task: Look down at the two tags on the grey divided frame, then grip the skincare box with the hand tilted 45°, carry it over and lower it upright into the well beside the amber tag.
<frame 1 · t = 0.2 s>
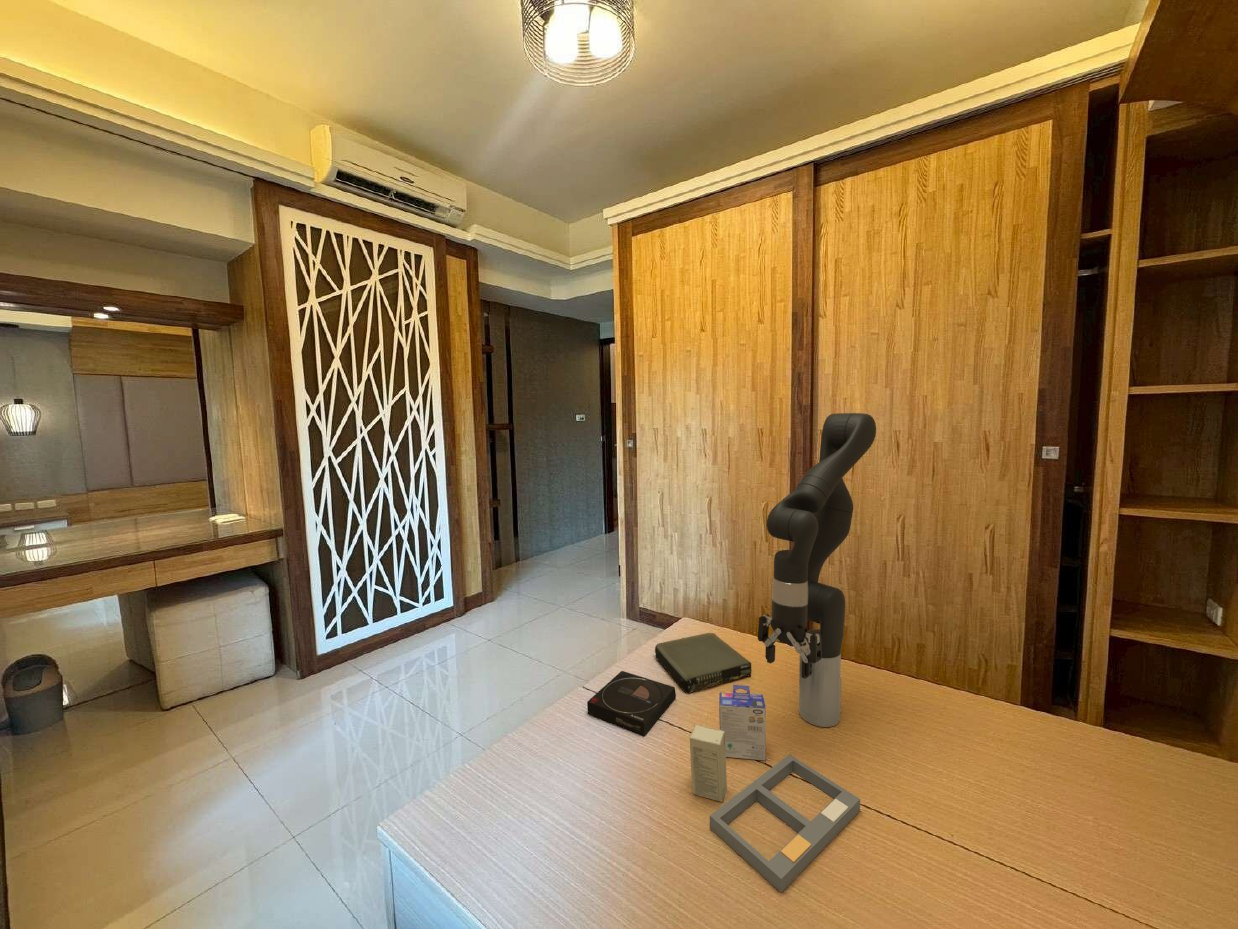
hand: (787, 669, 106), 18 cm above the table, tool pointing down, fingers open, 8 cm apart
skincare box: (709, 791, 95), on the table
portable cd player: (633, 708, 123), on the table
ink cartridge box: (742, 751, 106), on the table
network switch: (700, 669, 140), on the table
grey divided frame: (785, 819, 88), on the table
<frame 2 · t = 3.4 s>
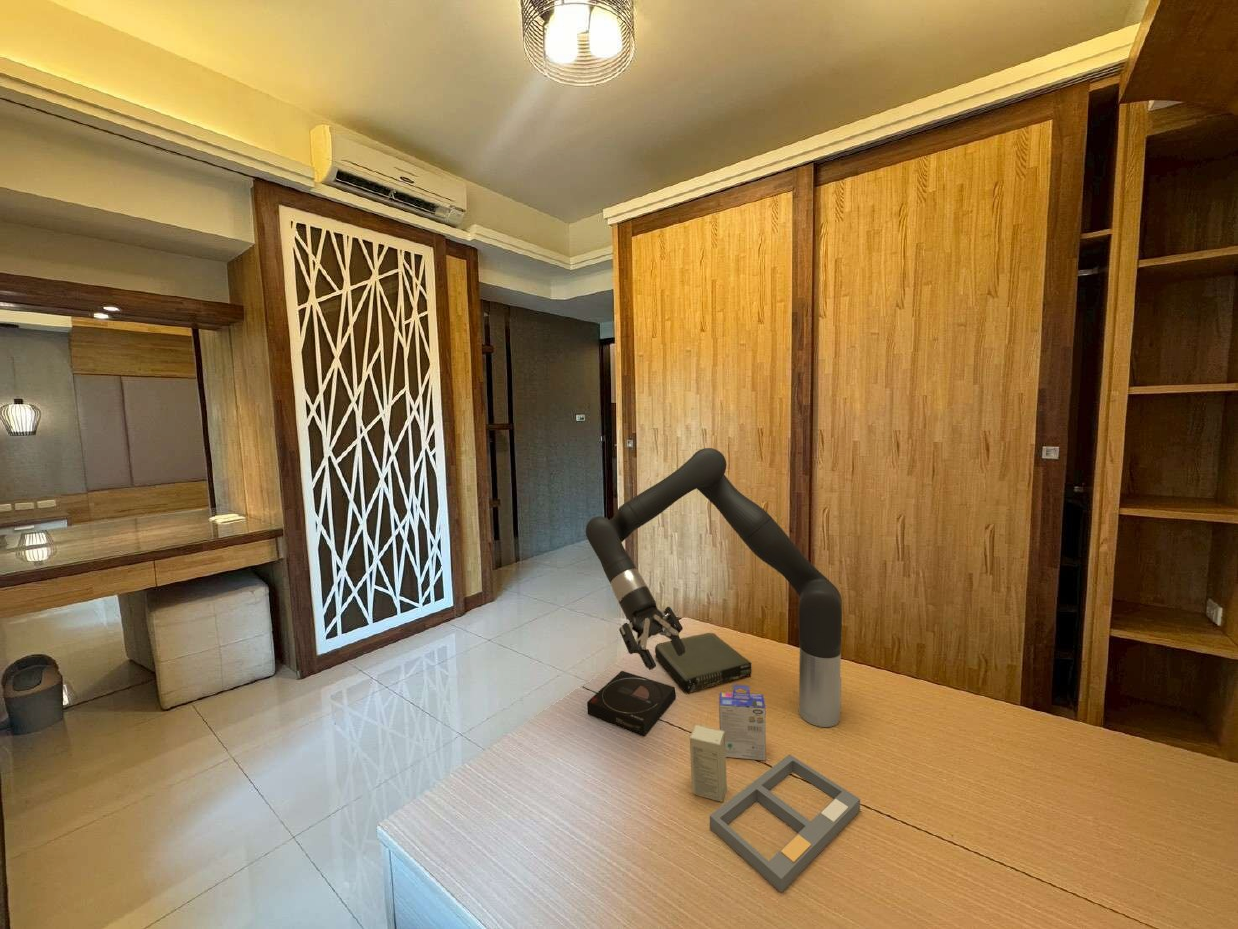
hand: (667, 661, 101), 23 cm above the table, tool tilted 45°, fingers open, 8 cm apart
nothing on the table moved.
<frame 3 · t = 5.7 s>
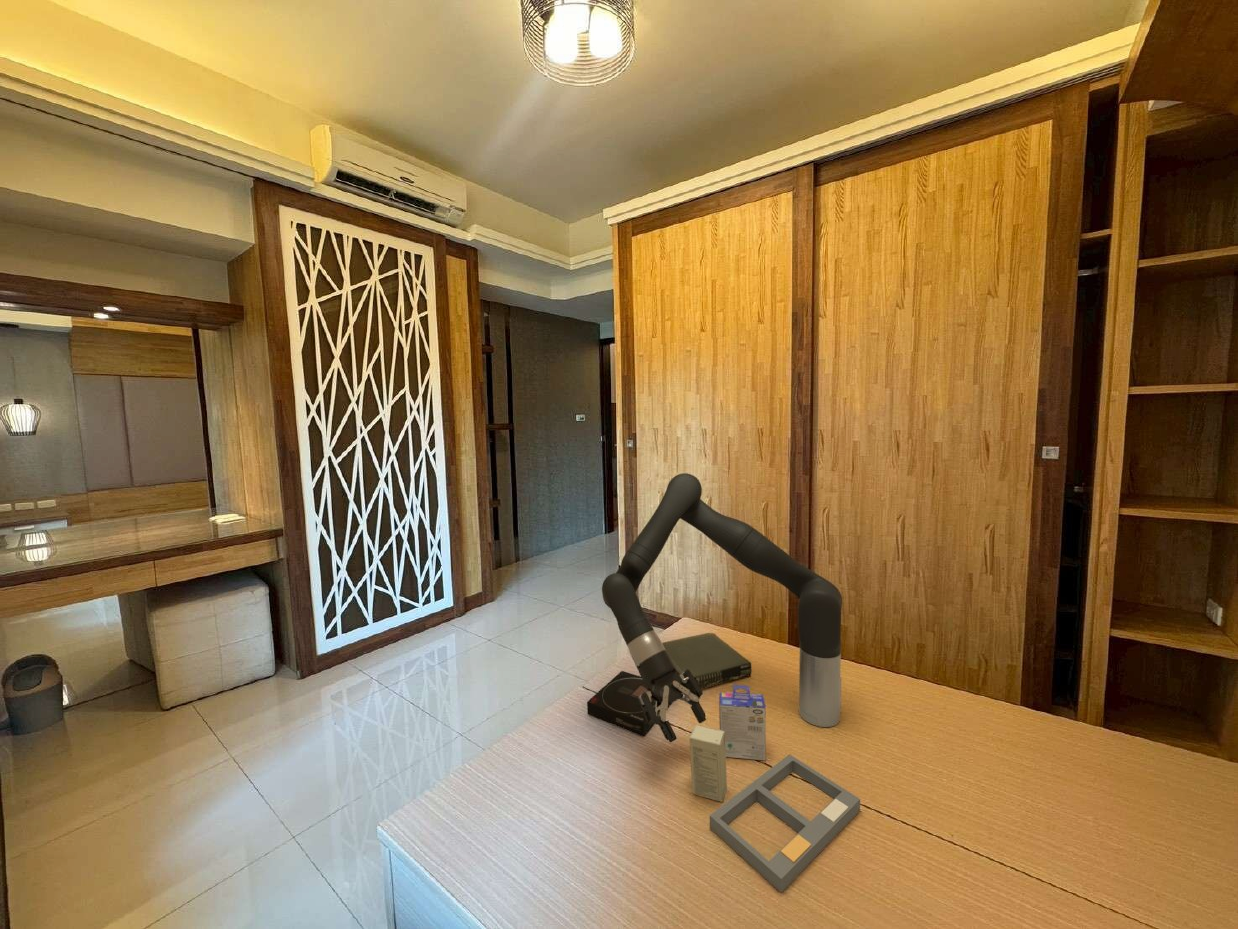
hand: (688, 731, 98), 10 cm above the table, tool tilted 45°, fingers open, 8 cm apart
nothing on the table moved.
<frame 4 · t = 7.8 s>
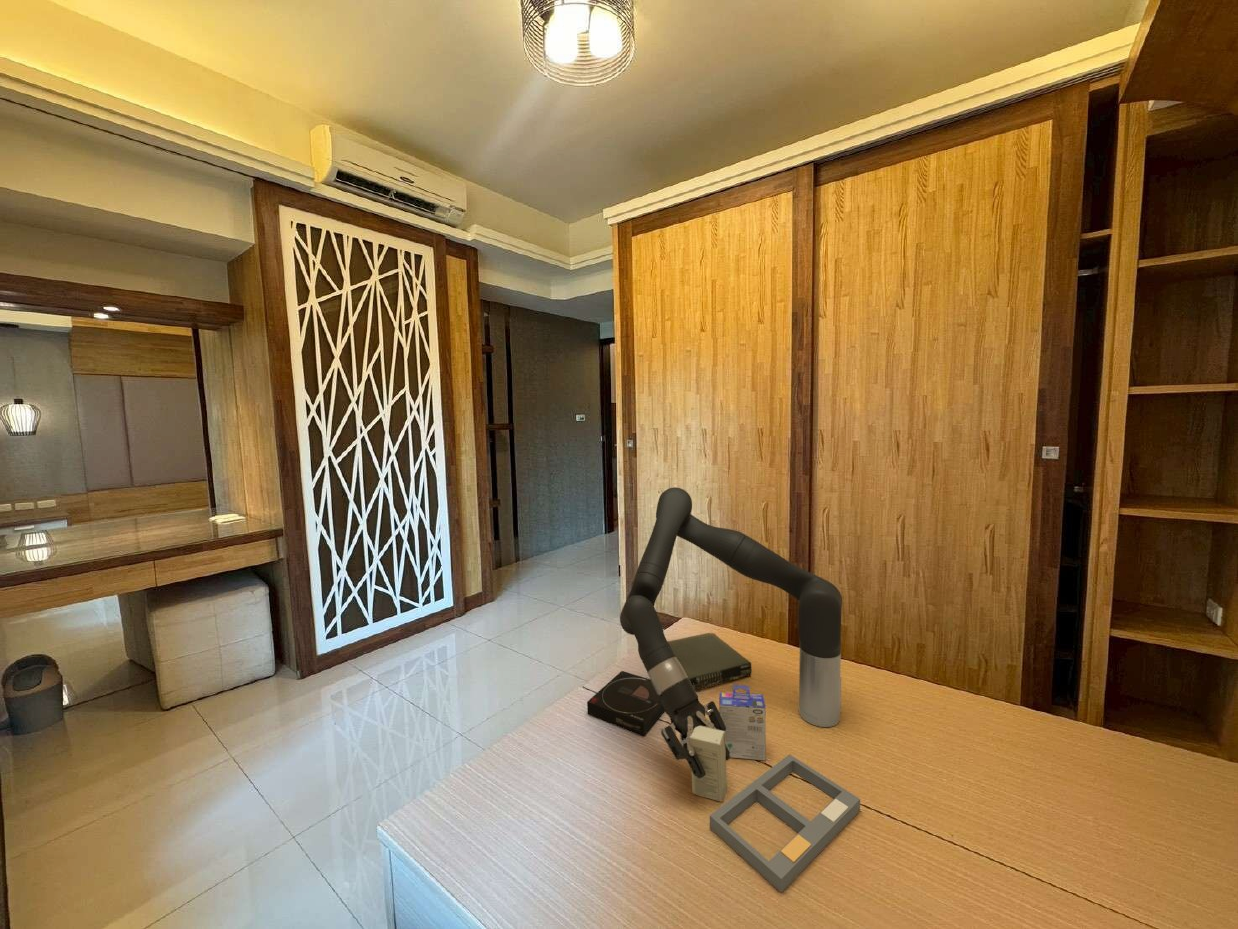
hand: (714, 768, 93), 6 cm above the table, tool tilted 45°, fingers closed on skincare box, 6 cm apart
skincare box: (709, 791, 95), on the table, touching gripper
everything else where it was.
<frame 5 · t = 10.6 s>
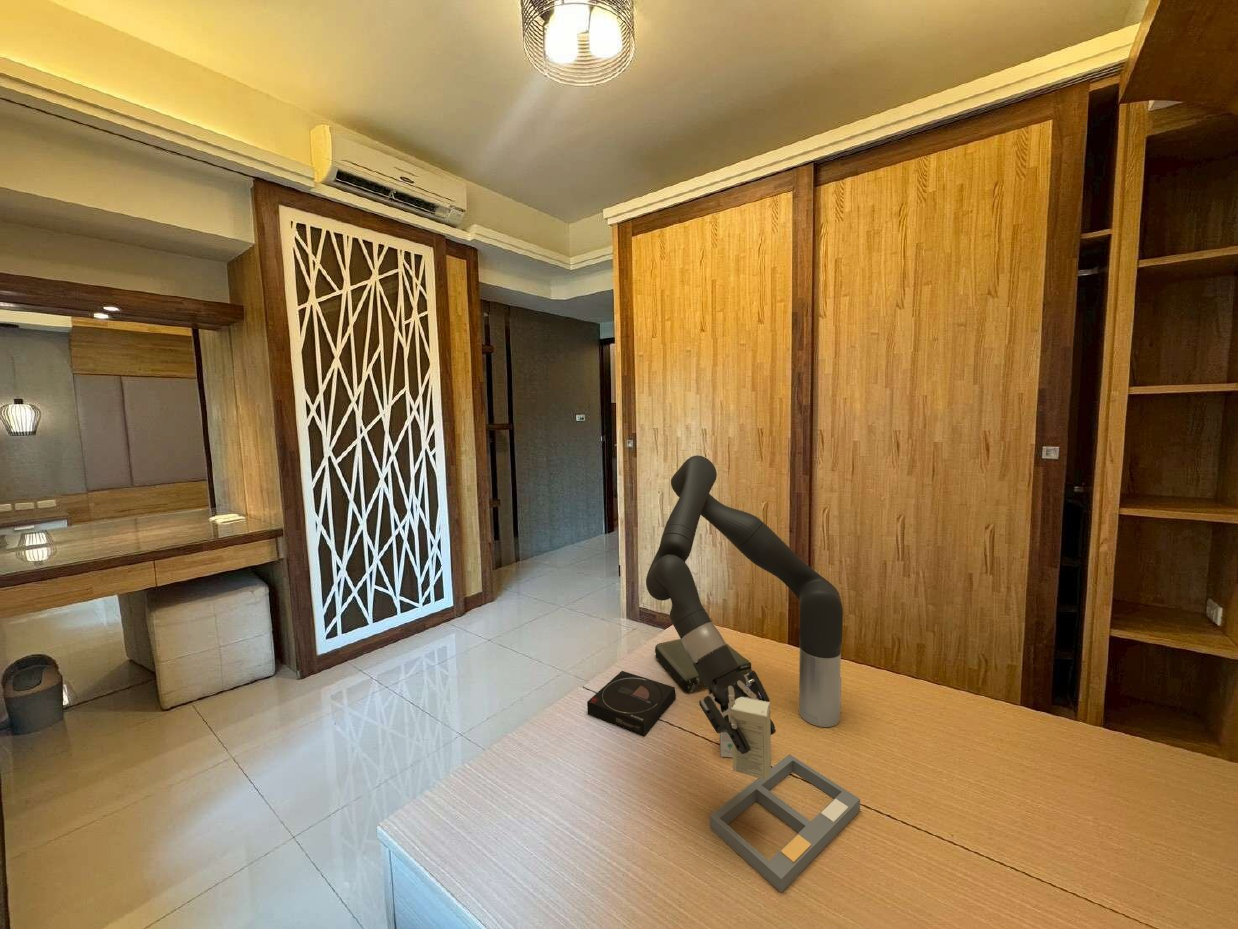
hand: (759, 742, 83), 17 cm above the table, tool tilted 45°, fingers closed on skincare box, 6 cm apart
skincare box: (751, 768, 85), point 11 cm above the table, touching gripper
everything else where it was.
when the fingers open (7 cm above the table, at t = 13.5 s): skincare box stays where it is, resting in grey divided frame.
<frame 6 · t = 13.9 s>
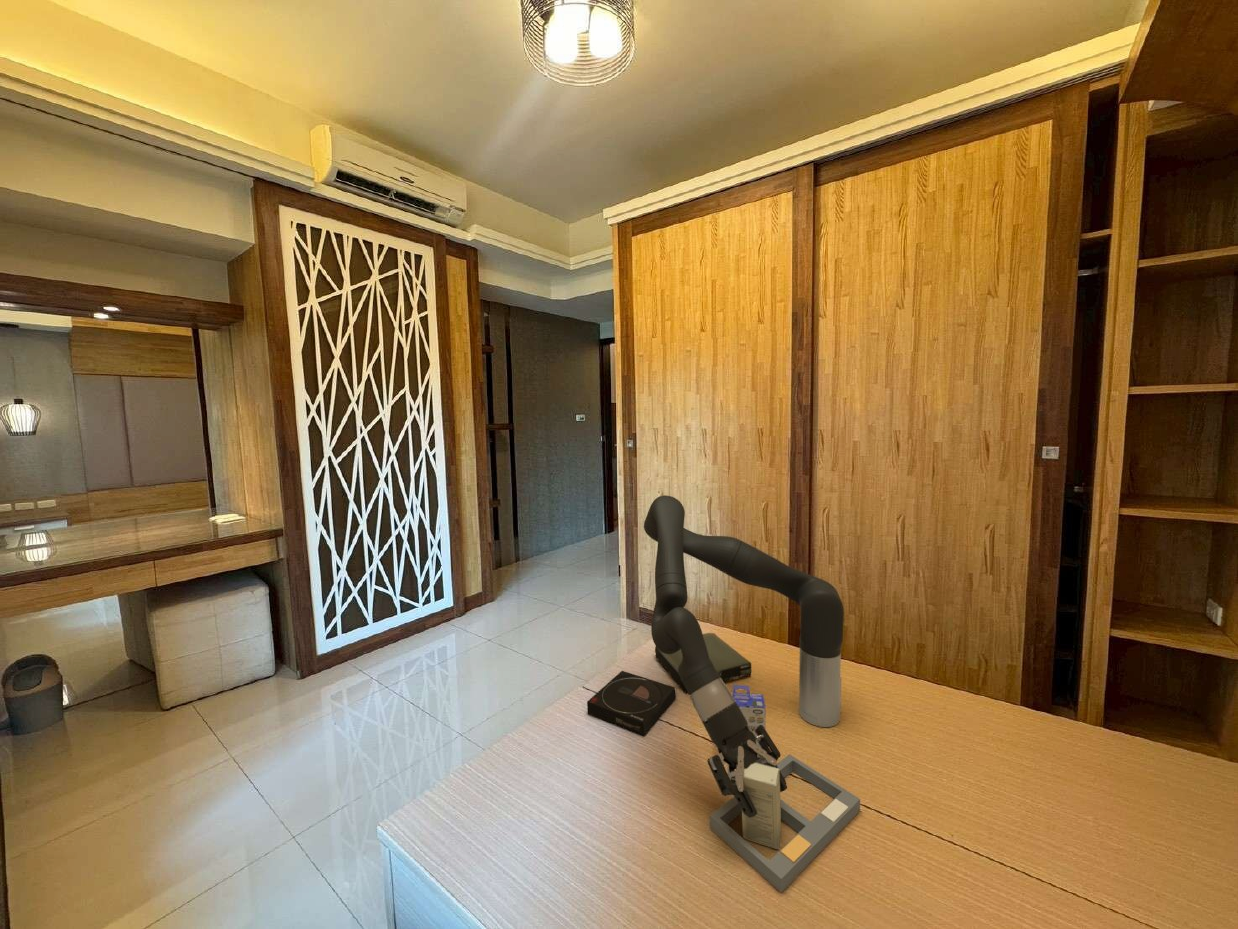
hand: (768, 803, 83), 7 cm above the table, tool tilted 45°, fingers open, 8 cm apart
skincare box: (761, 835, 85), resting in grey divided frame
everything else where it was.
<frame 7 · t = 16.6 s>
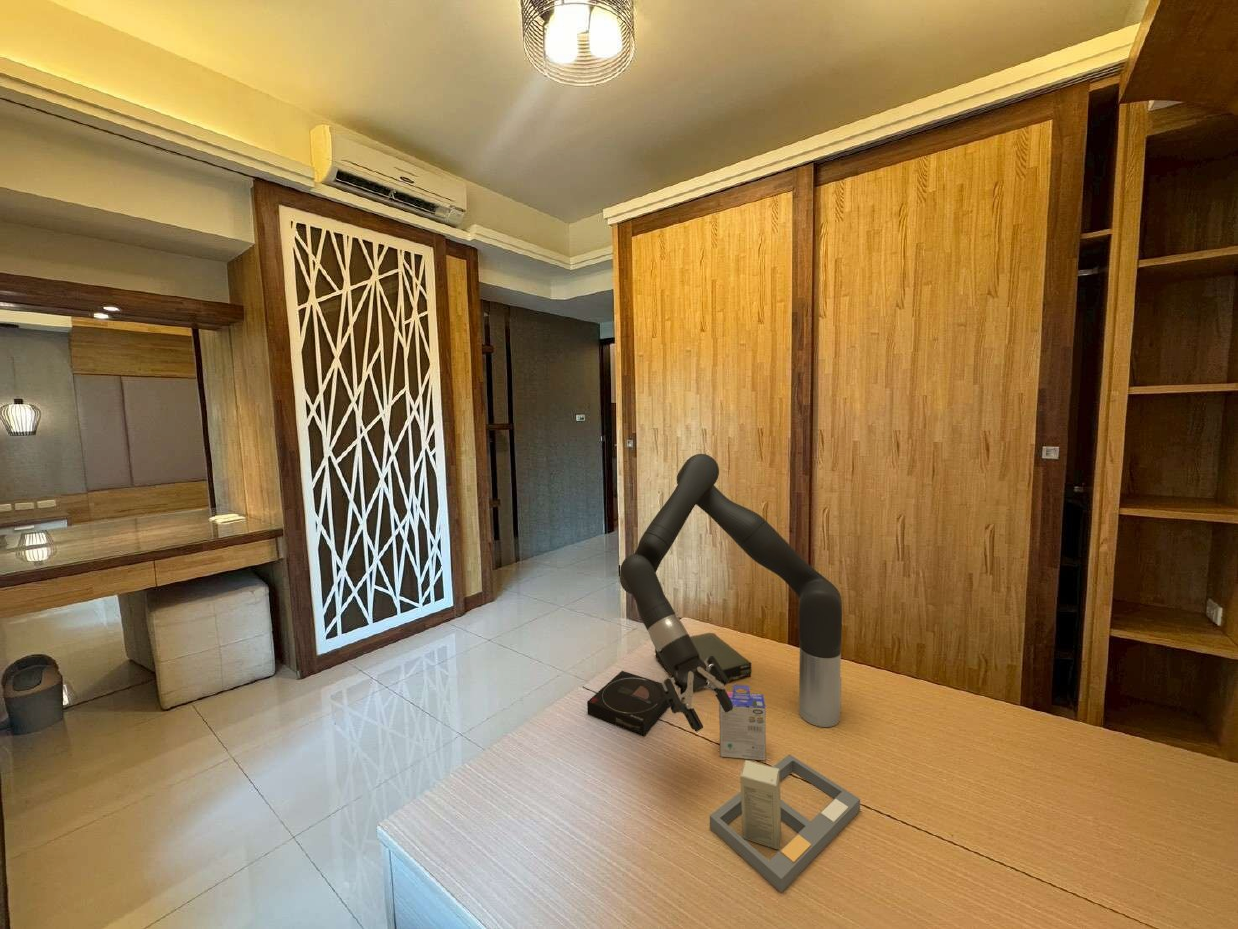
hand: (715, 720, 92), 16 cm above the table, tool tilted 45°, fingers open, 8 cm apart
nothing on the table moved.
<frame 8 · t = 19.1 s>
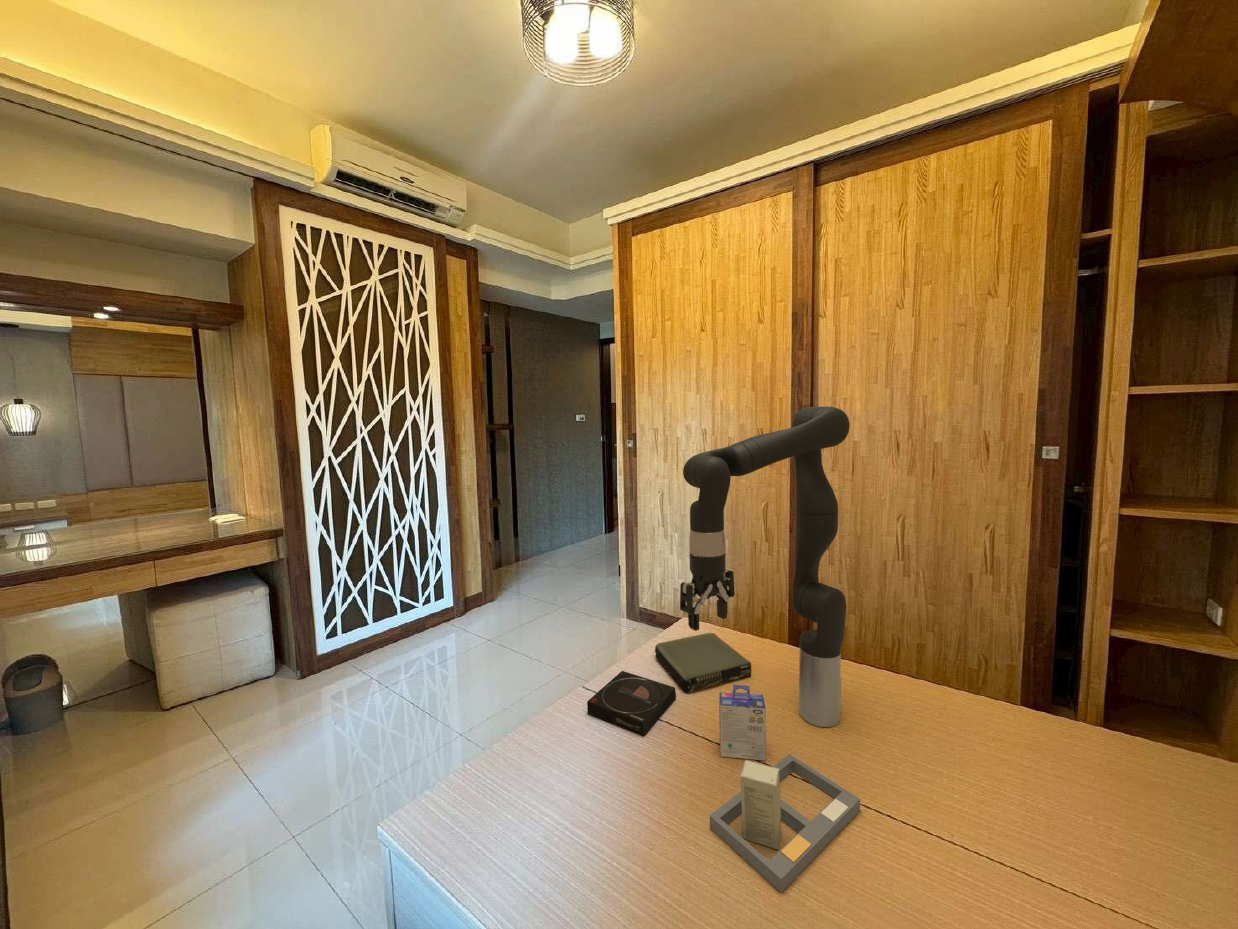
hand: (708, 623, 102), 30 cm above the table, tool pointing down, fingers open, 8 cm apart
nothing on the table moved.
at the end: skincare box inside the target area on the grey divided frame (0.2 cm from its centre), point 0.0 cm above the grey divided frame's base; skincare box tilted 0°; the gripper is holding nothing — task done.
